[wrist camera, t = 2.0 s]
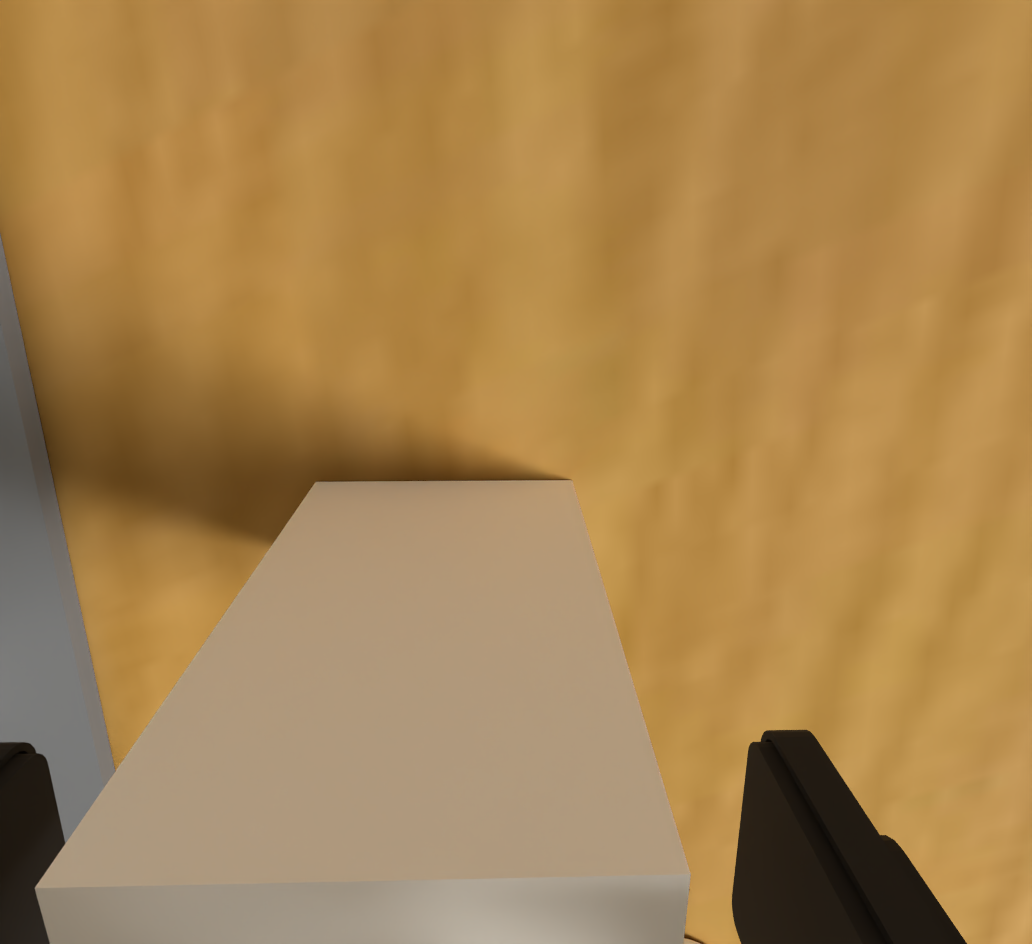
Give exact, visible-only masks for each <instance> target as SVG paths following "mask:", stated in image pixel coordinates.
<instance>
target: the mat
mask: <svg viewBox="0 0 1032 944" xmlns="http://www.w3.org/2000/svg"><path fill="white" fill-rule="evenodd" d="M0 742H26V743H30V744H31V745H32V746H33V747H34V748H35V750H36V753H39V754H43V755H44V756H45V757H46V759H47V762H48V766H49V770H50V775H51V779H52V784H53V789H54V793H55V798H56V803H57V807H58V812H59V816H60V821H61V826H62V830H63V835H64V840H65V844H66V842H67V841H68V839H69V838H70V836H71V835H72V833H73V832H74V831H75V829H76V828H77V826H78V825H79V823H80V822H81V820H82V819H83V818H84V816H85V815H86V813H87V812H88V810H89V809H90V807H91V806H92V805H93V803H94V802H95V800H96V799H97V797H98V796H99V794H100V793H101V791H102V790H103V789H104V787H105V786H106V784H107V783H108V781H109V780H110V778H111V777H112V776H113V774H114V773H115V768H114V763H113V758H112V754H111V749H110V744H109V740H108V735H107V730H106V725H105V721H104V716H103V711H102V707H101V702H100V697H99V693H98V688H97V683H96V679H95V674H94V669H93V665H92V660H91V655H90V651H89V646H88V641H87V637H86V632H85V627H84V623H83V618H82V613H81V609H80V604H79V599H78V595H77V590H76V585H75V581H74V576H73V571H72V567H71V562H70V557H69V553H68V548H67V543H66V539H65V534H64V529H63V525H62V520H61V515H60V511H59V506H58V501H57V497H56V492H55V487H54V483H53V478H52V473H51V469H50V464H49V459H48V455H47V450H46V445H45V441H44V436H43V431H42V427H41V422H40V417H39V412H38V408H37V403H36V398H35V394H34V389H33V384H32V380H31V375H30V370H29V366H28V361H27V356H26V352H25V347H24V342H23V338H22V333H21V328H20V324H19V319H18V314H17V310H16V305H15V300H14V296H13V291H12V286H11V282H10V277H9V272H8V268H7V263H6V258H5V254H4V249H3V244H2V240H1V235H0Z"/></svg>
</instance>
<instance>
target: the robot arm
mask: <svg viewBox="0 0 1032 944" xmlns="http://www.w3.org/2000/svg"><path fill="white" fill-rule="evenodd" d="M64 845H65V840H64V835H63V830H62V826H61V821H60V816H59V812H58V807H57V803H56V798H55V793H54V789H53V784H52V779H51V775H50V770H49V766H48V762H47V759H46V757H45V756H44V755H43V754H39V753H36V750H35V748H34V747H33V746H32V745H31V744H30V743H26V742H0V944H50V942H49V938H48V935H47V931H46V928H45V924H44V920H43V917H42V913H41V909H40V906H39V902H38V899H37V895H36V891H35V887H36V885H37V884H38V883H39V881H40V880H41V878H42V877H43V875H44V874H45V872H46V871H47V870H48V868H49V867H50V865H51V864H52V862H53V861H54V859H55V858H56V857H57V855H58V854H59V852H60V851H61V849H62V848H63V846H64ZM732 910H733V917H734V922H735V926H736V930H737V933H738V936H739V938H740V941H741V944H967V943H966V942H965V940H964V939H963V937H962V936H961V934H960V933H959V931H958V930H957V929H956V927H955V926H954V924H953V923H952V921H951V920H950V918H949V917H948V915H947V914H946V912H945V911H944V910H943V908H942V907H941V905H940V904H939V902H938V901H937V899H936V898H935V896H934V895H933V893H932V892H931V890H930V889H929V888H928V886H927V885H926V883H925V882H924V880H923V879H922V877H921V876H920V874H919V873H918V871H917V870H916V869H915V867H914V866H913V864H912V863H911V861H910V860H909V858H908V857H907V855H906V854H905V852H904V851H903V850H902V849H901V847H900V846H899V845H898V844H897V843H896V842H895V840H893V839H891V838H890V837H888V836H886V835H879V833H878V832H877V830H876V829H875V827H874V826H873V824H872V823H871V821H870V820H869V818H868V817H867V815H866V814H865V812H864V811H863V809H862V808H861V806H860V805H859V803H858V801H857V800H856V798H855V797H854V795H853V794H852V792H851V791H850V789H849V788H848V786H847V785H846V783H845V782H844V780H843V779H842V777H841V776H840V774H839V773H838V771H837V770H836V768H835V767H834V765H833V764H832V762H831V761H830V759H829V758H828V756H827V755H826V753H825V752H824V750H823V748H822V747H821V745H820V744H819V742H818V741H817V739H816V738H815V736H814V735H813V734H812V733H811V732H810V731H808V730H769V731H765V732H764V733H763V735H762V738H761V742H752V743H751V744H750V746H749V750H748V758H747V767H746V776H745V785H744V794H743V803H742V812H741V821H740V830H739V839H738V848H737V857H736V866H735V876H734V885H733V894H732Z"/></svg>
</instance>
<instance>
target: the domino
mask: <svg viewBox="0 0 1032 944" xmlns="http://www.w3.org/2000/svg"><path fill="white" fill-rule="evenodd" d="M690 875H691V874H690V871H689V867H688V864H687V861H686V857H685V854H684V851H683V847H682V844H681V841H680V837H679V834H678V831H677V827H676V824H675V821H674V817H673V814H672V811H671V807H670V804H669V801H668V797H667V794H666V791H665V787H664V784H663V781H662V777H661V774H660V771H659V768H658V764H657V761H656V758H655V754H654V751H653V748H652V744H651V741H650V738H649V734H648V731H647V728H646V724H645V721H644V718H643V714H642V711H641V708H640V704H639V701H638V698H637V694H636V691H635V688H634V684H633V681H632V678H631V674H630V671H629V668H628V664H627V661H626V658H625V654H624V651H623V648H622V644H621V641H620V638H619V634H618V631H617V628H616V624H615V621H614V618H613V614H612V611H611V608H610V604H609V601H608V598H607V594H606V591H605V588H604V584H603V581H602V578H601V574H600V571H599V568H598V564H597V561H596V558H595V554H594V551H593V548H592V545H591V541H590V538H589V535H588V531H587V528H586V525H585V521H584V518H583V515H582V511H581V508H580V505H579V501H578V498H577V495H576V491H575V488H574V485H573V481H572V480H511V481H353V482H315V484H314V485H313V486H312V488H311V489H310V491H309V492H308V494H307V495H306V497H305V498H304V499H303V501H302V502H301V504H300V505H299V507H298V508H297V510H296V511H295V513H294V514H293V515H292V517H291V518H290V520H289V521H288V523H287V524H286V526H285V527H284V528H283V530H282V531H281V533H280V534H279V536H278V537H277V539H276V540H275V541H274V543H273V544H272V546H271V547H270V549H269V550H268V552H267V553H266V554H265V556H264V557H263V559H262V560H261V562H260V563H259V565H258V566H257V567H256V569H255V570H254V572H253V573H252V575H251V576H250V578H249V579H248V580H247V582H246V583H245V585H244V586H243V588H242V589H241V591H240V592H239V593H238V595H237V596H236V598H235V599H234V601H233V602H232V604H231V605H230V606H229V608H228V609H227V611H226V612H225V614H224V615H223V617H222V618H221V619H220V621H219V622H218V624H217V625H216V627H215V628H214V630H213V631H212V632H211V634H210V635H209V637H208V638H207V640H206V641H205V643H204V644H203V645H202V647H201V648H200V650H199V651H198V653H197V654H196V656H195V657H194V659H193V660H192V661H191V663H190V664H189V666H188V667H187V669H186V670H185V672H184V673H183V674H182V676H181V677H180V679H179V680H178V682H177V683H176V685H175V686H174V687H173V689H172V690H171V692H170V693H169V695H168V696H167V698H166V699H165V700H164V702H163V703H162V705H161V706H160V708H159V709H158V711H157V712H156V713H155V715H154V716H153V718H152V719H151V721H150V722H149V724H148V725H147V726H146V728H145V729H144V731H143V732H142V734H141V735H140V737H139V738H138V739H137V741H136V742H135V744H134V745H133V747H132V748H131V750H130V751H129V752H128V754H127V755H126V757H125V758H124V760H123V761H122V763H121V764H120V765H119V767H118V768H117V770H116V771H115V773H114V774H113V776H112V777H111V778H110V780H109V781H108V783H107V784H106V786H105V787H104V789H103V790H102V791H101V793H100V794H99V796H98V797H97V799H96V800H95V802H94V803H93V805H92V806H91V807H90V809H89V810H88V812H87V813H86V815H85V816H84V818H83V819H82V820H81V822H80V823H79V825H78V826H77V828H76V829H75V831H74V832H73V833H72V835H71V836H70V838H69V839H68V841H67V842H66V844H65V845H64V846H63V848H62V849H61V851H60V852H59V854H58V855H57V857H56V858H55V859H54V861H53V862H52V864H51V865H50V867H49V868H48V870H47V871H46V872H45V874H44V875H43V877H42V878H41V880H40V881H39V883H38V884H37V885H36V887H35V891H36V895H37V899H38V902H39V906H40V909H41V913H42V917H43V920H44V924H45V928H46V931H47V935H48V938H49V942H50V944H683V942H684V933H685V923H686V914H687V904H688V895H689V885H690Z"/></svg>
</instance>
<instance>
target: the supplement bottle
mask: <svg viewBox="0 0 1032 944" xmlns="http://www.w3.org/2000/svg"><path fill="white" fill-rule="evenodd" d="M683 944H701V943H698V942H696V941H693V940H689V939H685V938H684V942H683Z"/></svg>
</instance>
